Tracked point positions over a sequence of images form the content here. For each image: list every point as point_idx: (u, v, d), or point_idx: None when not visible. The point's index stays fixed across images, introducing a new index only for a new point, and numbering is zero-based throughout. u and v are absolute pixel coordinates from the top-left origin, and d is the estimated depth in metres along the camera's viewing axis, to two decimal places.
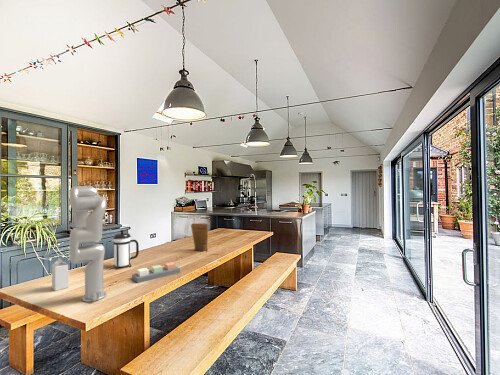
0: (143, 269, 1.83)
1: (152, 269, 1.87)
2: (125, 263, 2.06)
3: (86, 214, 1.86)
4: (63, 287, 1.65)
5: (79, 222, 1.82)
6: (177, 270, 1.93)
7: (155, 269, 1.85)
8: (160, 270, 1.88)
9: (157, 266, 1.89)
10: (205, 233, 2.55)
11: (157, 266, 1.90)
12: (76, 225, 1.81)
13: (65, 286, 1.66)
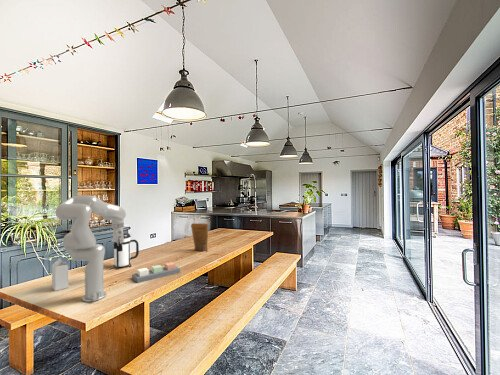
0: (143, 269, 1.83)
1: (152, 269, 1.87)
2: (125, 263, 2.06)
3: None
4: (63, 287, 1.65)
5: None
6: (177, 270, 1.93)
7: (155, 269, 1.85)
8: (160, 270, 1.88)
9: (157, 266, 1.89)
10: (205, 233, 2.55)
11: (157, 266, 1.90)
12: (123, 239, 1.80)
13: (65, 286, 1.66)
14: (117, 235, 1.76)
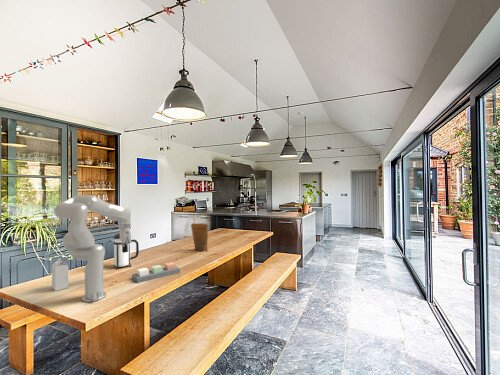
0: (143, 269, 1.83)
1: (152, 269, 1.87)
2: (125, 263, 2.06)
3: None
4: (63, 287, 1.65)
5: None
6: (177, 270, 1.93)
7: (155, 269, 1.85)
8: (160, 270, 1.88)
9: (157, 266, 1.89)
10: (205, 233, 2.55)
11: (157, 266, 1.90)
12: None
13: (65, 286, 1.66)
14: (124, 236, 1.77)
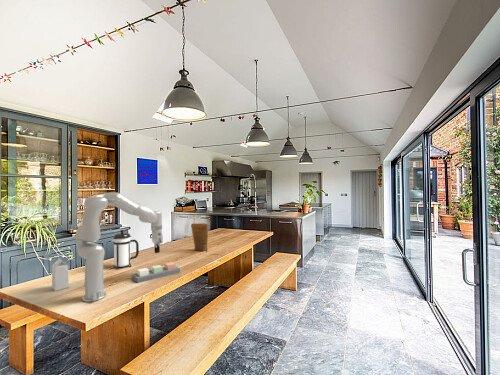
0: (143, 269, 1.83)
1: (152, 269, 1.87)
2: (125, 263, 2.06)
3: None
4: (63, 287, 1.65)
5: None
6: (177, 270, 1.93)
7: (155, 269, 1.85)
8: (160, 270, 1.88)
9: (157, 266, 1.89)
10: (205, 233, 2.55)
11: (157, 266, 1.90)
12: None
13: (65, 286, 1.66)
14: (157, 237, 1.84)
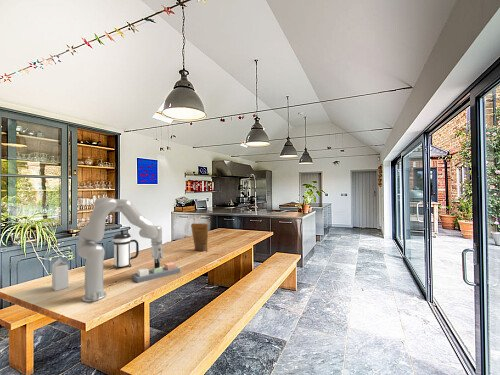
0: (143, 269, 1.83)
1: (152, 270, 1.87)
2: (125, 263, 2.06)
3: None
4: (63, 287, 1.65)
5: None
6: (177, 270, 1.93)
7: (155, 270, 1.85)
8: (160, 271, 1.88)
9: None
10: (205, 233, 2.55)
11: None
12: None
13: (65, 286, 1.66)
14: (157, 252, 1.84)
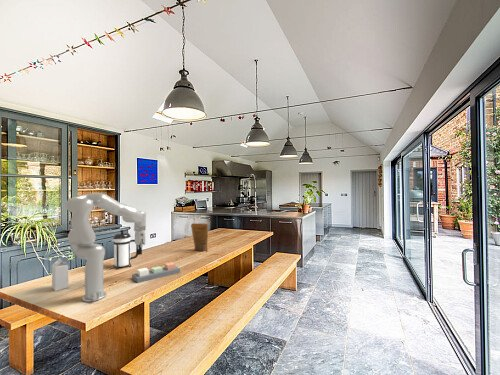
0: (143, 269, 1.83)
1: (152, 270, 1.87)
2: (125, 263, 2.06)
3: None
4: (63, 287, 1.65)
5: None
6: (177, 270, 1.93)
7: (155, 270, 1.85)
8: (160, 271, 1.88)
9: (157, 267, 1.89)
10: (205, 233, 2.55)
11: (157, 267, 1.90)
12: None
13: (65, 286, 1.66)
14: (139, 238, 1.79)
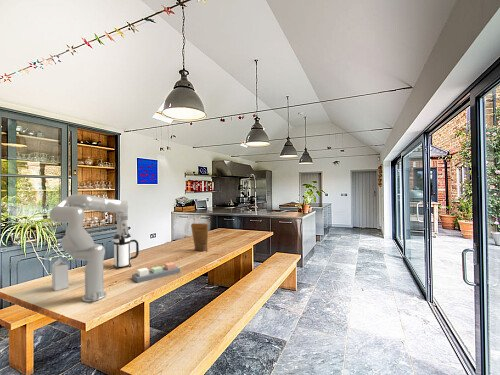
0: (143, 269, 1.83)
1: (152, 270, 1.87)
2: (125, 263, 2.06)
3: None
4: (63, 287, 1.65)
5: None
6: (177, 270, 1.93)
7: (155, 270, 1.85)
8: (160, 271, 1.88)
9: (157, 267, 1.89)
10: (205, 233, 2.55)
11: (157, 267, 1.90)
12: (127, 232, 1.78)
13: (65, 286, 1.66)
14: (121, 228, 1.74)
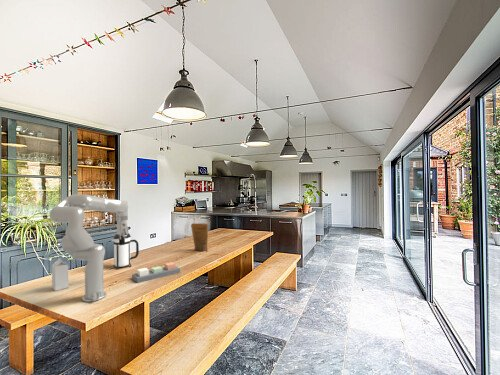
0: (143, 269, 1.83)
1: (152, 270, 1.87)
2: (125, 263, 2.06)
3: None
4: (63, 287, 1.65)
5: None
6: (177, 270, 1.93)
7: (155, 270, 1.85)
8: (160, 271, 1.88)
9: (157, 267, 1.89)
10: (205, 233, 2.55)
11: (157, 267, 1.90)
12: (127, 232, 1.78)
13: (65, 286, 1.66)
14: (121, 228, 1.74)
